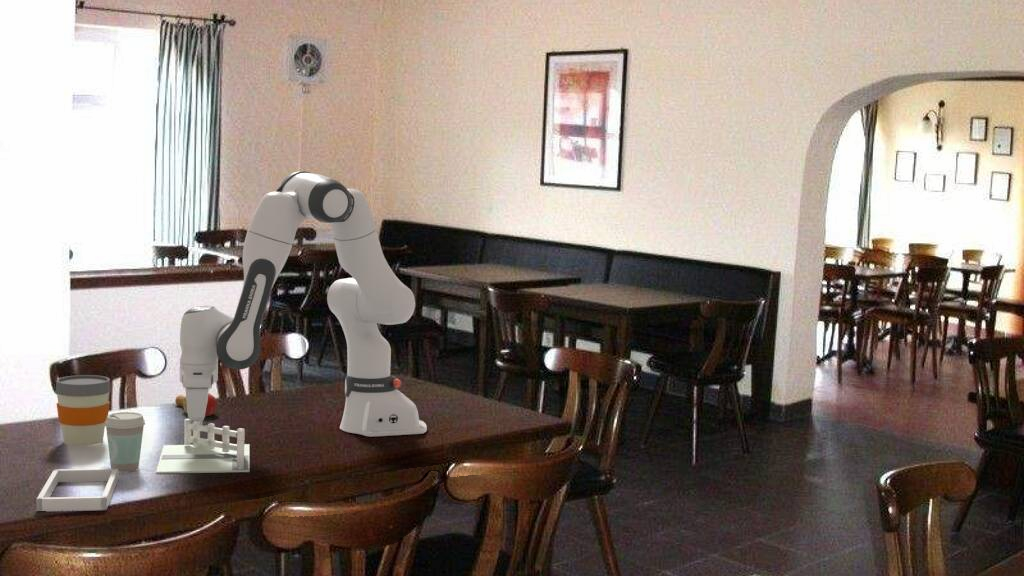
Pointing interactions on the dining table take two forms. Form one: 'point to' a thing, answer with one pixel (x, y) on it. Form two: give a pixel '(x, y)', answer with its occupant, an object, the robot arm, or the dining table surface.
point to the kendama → (210, 407)
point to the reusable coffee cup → (83, 408)
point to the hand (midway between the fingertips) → (198, 430)
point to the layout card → (199, 459)
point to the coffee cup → (124, 440)
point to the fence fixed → (240, 449)
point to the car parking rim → (77, 503)
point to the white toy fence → (209, 435)
